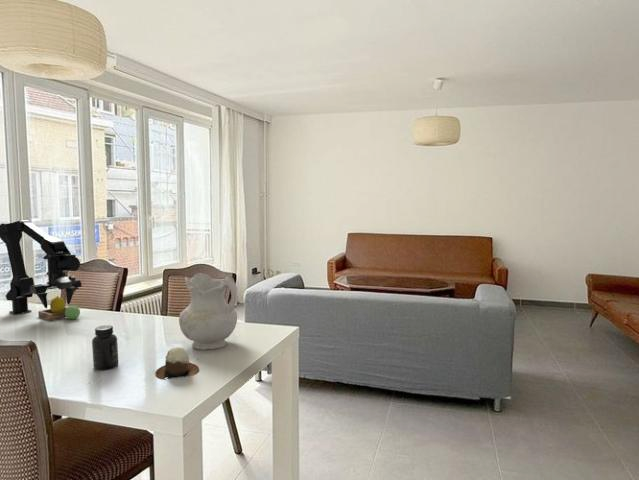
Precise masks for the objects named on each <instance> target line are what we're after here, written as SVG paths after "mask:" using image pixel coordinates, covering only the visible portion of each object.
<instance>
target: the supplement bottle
mask: <svg viewBox="0 0 639 480" xmlns="http://www.w3.org/2000/svg"><path fill="white" fill-rule="evenodd" d="M94 332H95V333H94V335H95V336H94V337H93V338H92V339H91V347H92V362H93V363H92V364H93V369H95V370H96V371H109V370H111V369H114V368H116V367H118V365H119V348H118V345H119V344H118V337H117V335H116V334H114V327H113V325H100V326H96V327H95V328H94Z"/></svg>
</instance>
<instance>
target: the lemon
mask: <svg viewBox="0 0 639 480" xmlns="http://www.w3.org/2000/svg"><path fill="white" fill-rule="evenodd" d="M65 307H66V302H65V300H64V298H62V297H60V296H55V297H53V298H52V299H51V301H50V305H49V309H51V311H52V312H53V313H60V312H63V311H64V309H65Z"/></svg>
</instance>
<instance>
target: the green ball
mask: <svg viewBox="0 0 639 480" xmlns="http://www.w3.org/2000/svg"><path fill="white" fill-rule="evenodd" d="M67 307H68V308H67V309H66V310H65V316H66V317H67V319H68V320H76V319H77V318H78V317H80V315H81V308H79V307H78V306H76V305H69V306H67Z"/></svg>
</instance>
